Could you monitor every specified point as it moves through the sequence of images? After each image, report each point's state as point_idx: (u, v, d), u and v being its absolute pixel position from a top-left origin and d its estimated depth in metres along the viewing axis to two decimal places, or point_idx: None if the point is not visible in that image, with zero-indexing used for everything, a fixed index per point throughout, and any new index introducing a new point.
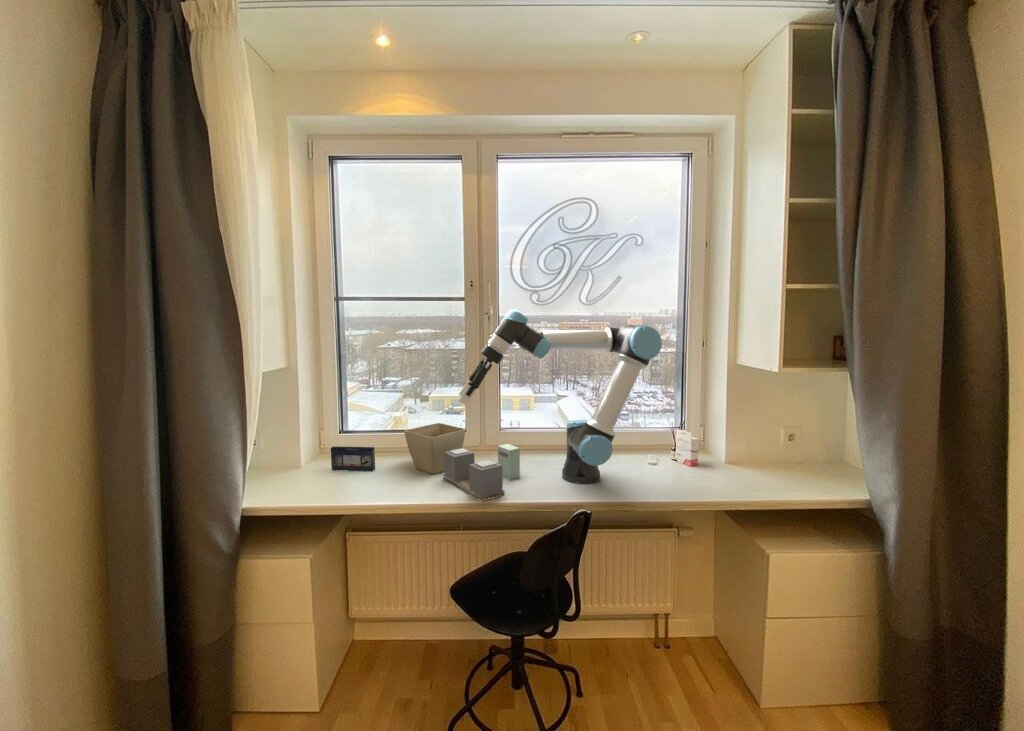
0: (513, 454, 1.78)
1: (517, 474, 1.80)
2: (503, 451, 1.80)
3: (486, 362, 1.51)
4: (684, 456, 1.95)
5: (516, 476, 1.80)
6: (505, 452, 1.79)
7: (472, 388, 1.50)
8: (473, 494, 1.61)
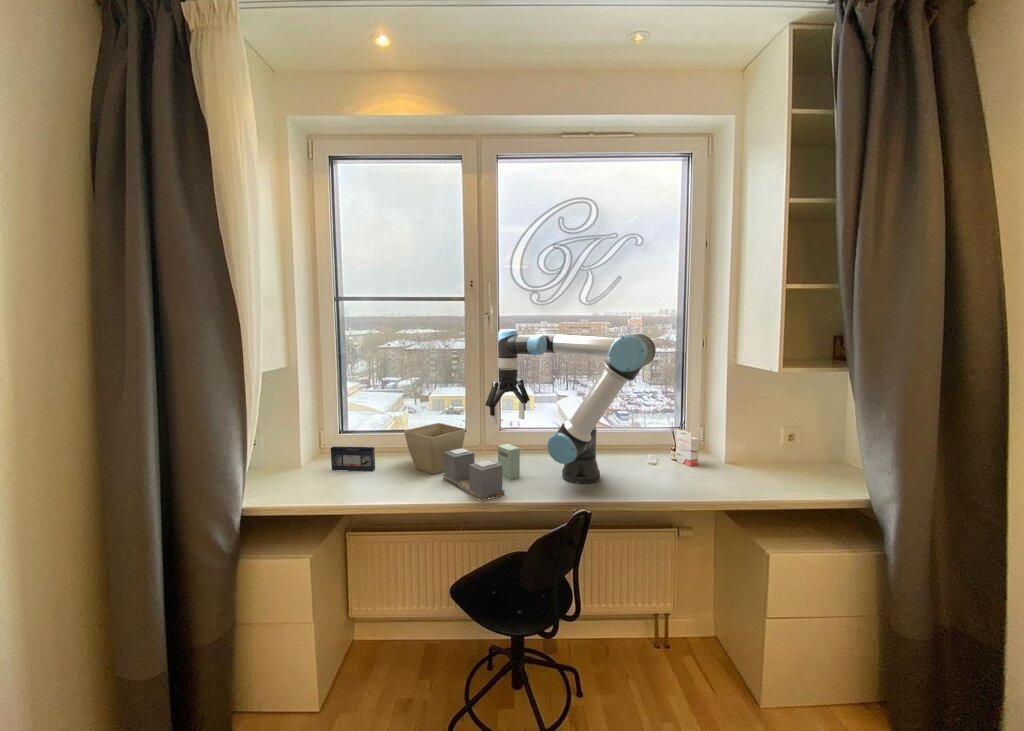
0: (513, 454, 1.78)
1: (517, 474, 1.80)
2: (503, 451, 1.80)
3: (493, 383, 1.75)
4: (684, 456, 1.95)
5: (516, 476, 1.80)
6: (505, 452, 1.79)
7: (491, 408, 1.75)
8: (473, 494, 1.61)
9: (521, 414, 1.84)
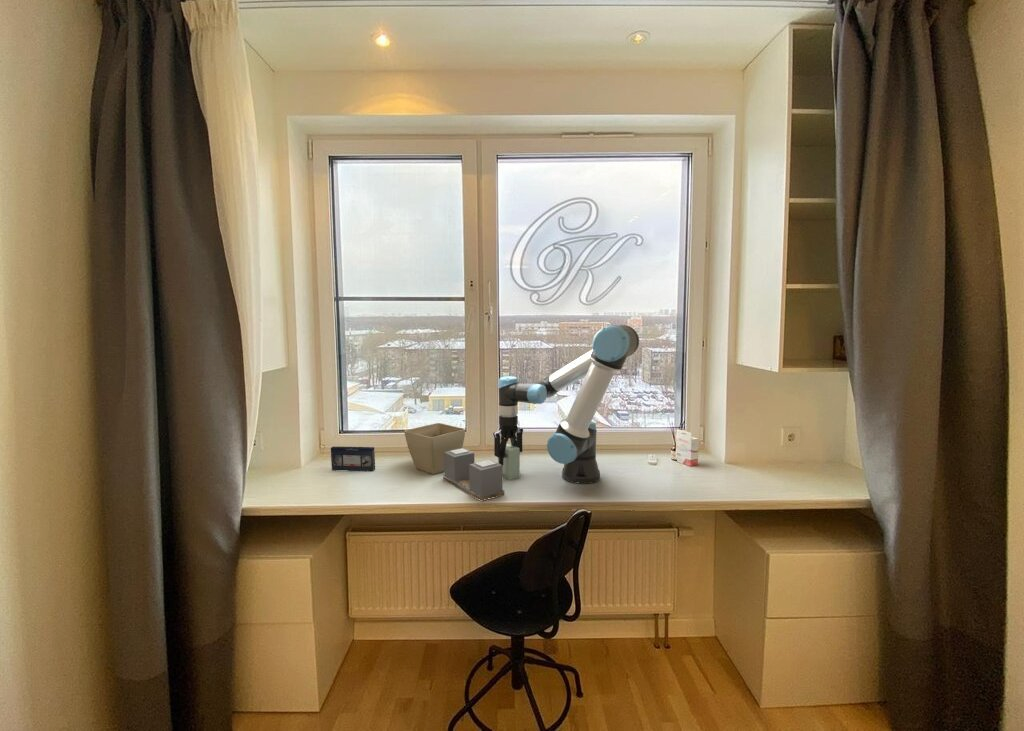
0: (513, 454, 1.78)
1: (517, 474, 1.80)
2: None
3: (493, 434, 1.78)
4: (684, 456, 1.95)
5: (516, 476, 1.80)
6: (505, 452, 1.79)
7: (499, 458, 1.80)
8: (473, 494, 1.61)
9: None
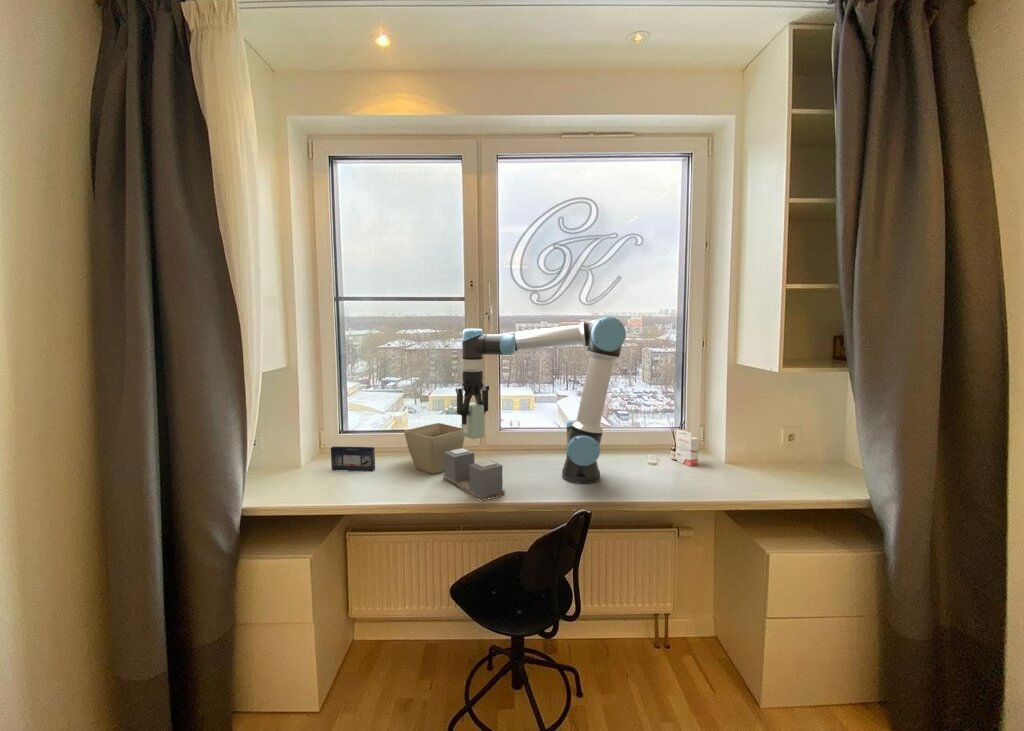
0: (477, 412, 1.66)
1: (481, 434, 1.68)
2: None
3: (456, 389, 1.65)
4: (684, 456, 1.95)
5: (480, 436, 1.68)
6: (468, 410, 1.67)
7: (462, 416, 1.67)
8: (473, 494, 1.61)
9: None
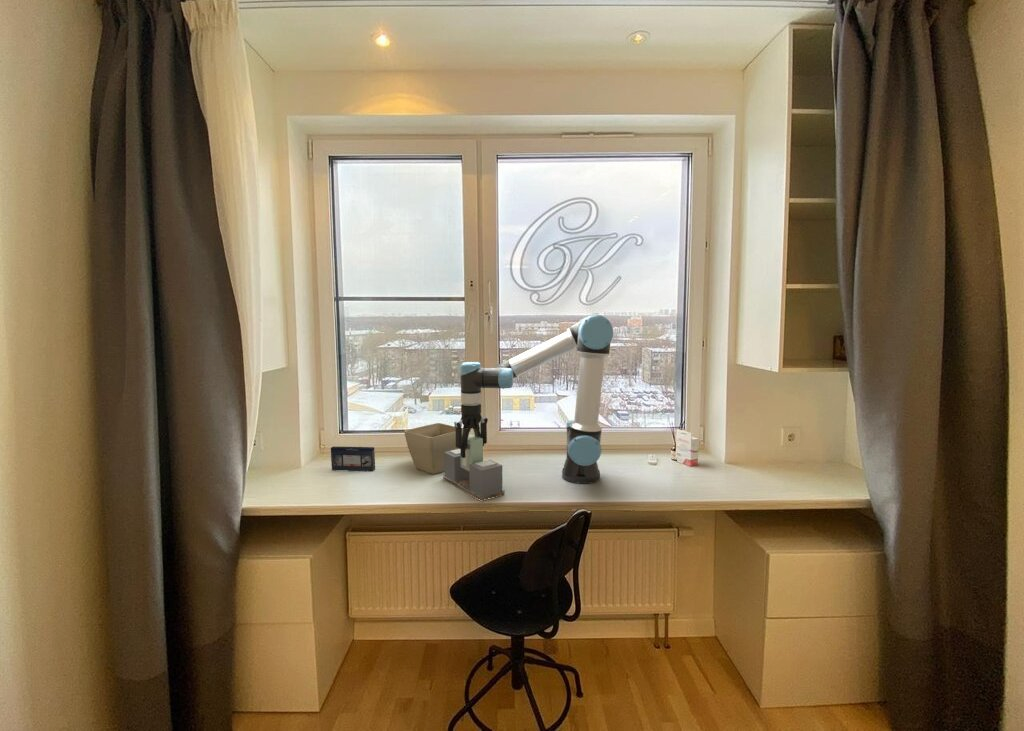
0: (475, 445, 1.66)
1: None
2: None
3: (454, 423, 1.66)
4: (684, 456, 1.95)
5: None
6: (467, 443, 1.67)
7: (461, 450, 1.67)
8: (473, 494, 1.61)
9: None
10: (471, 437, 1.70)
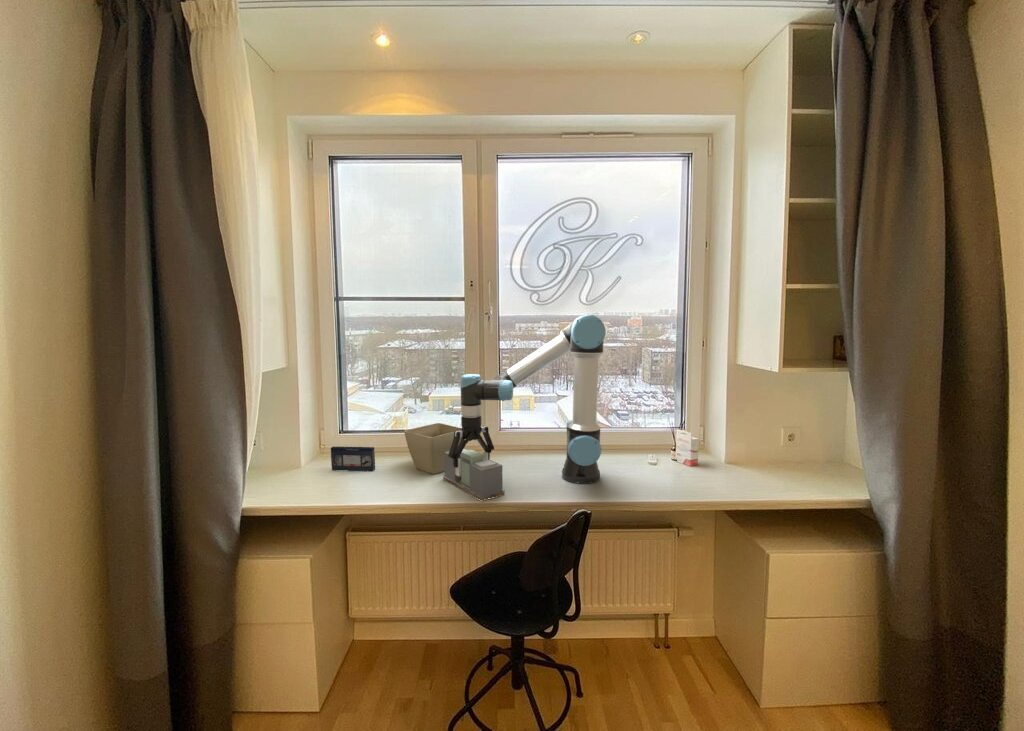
0: (476, 461, 1.67)
1: None
2: (466, 458, 1.69)
3: (454, 432, 1.66)
4: (684, 456, 1.95)
5: None
6: (468, 459, 1.68)
7: (454, 459, 1.66)
8: (473, 494, 1.61)
9: None
10: (472, 453, 1.70)
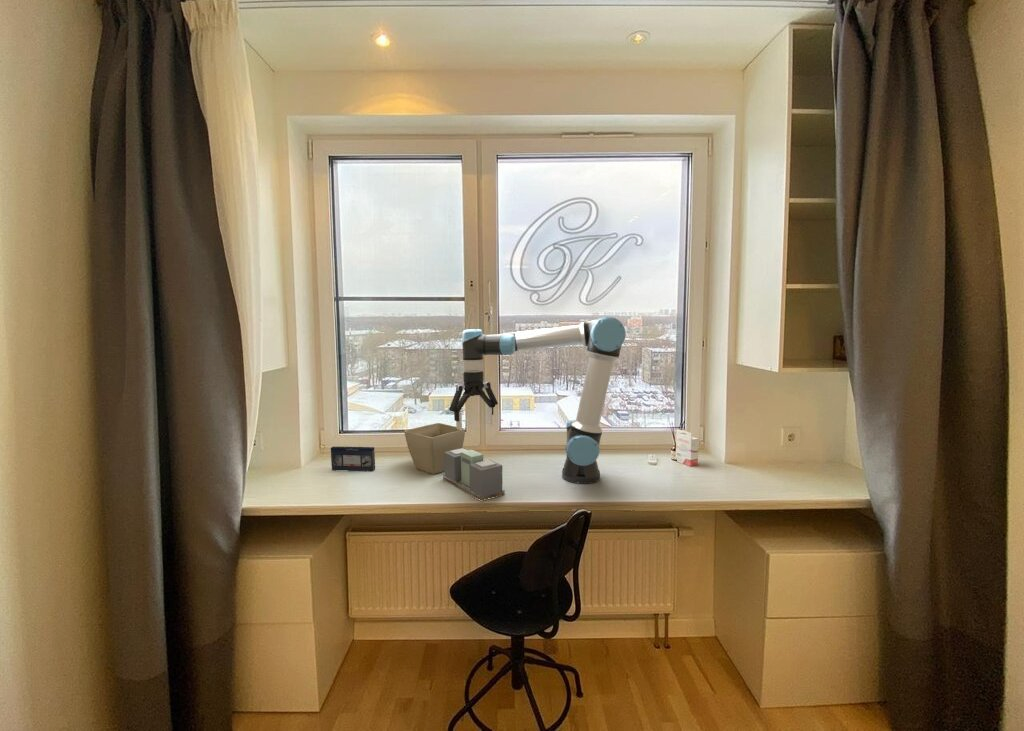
0: (476, 461, 1.67)
1: None
2: (466, 458, 1.69)
3: (457, 386, 1.65)
4: (684, 456, 1.95)
5: None
6: (468, 459, 1.68)
7: (455, 413, 1.65)
8: (473, 494, 1.61)
9: (489, 419, 1.74)
10: (472, 453, 1.70)
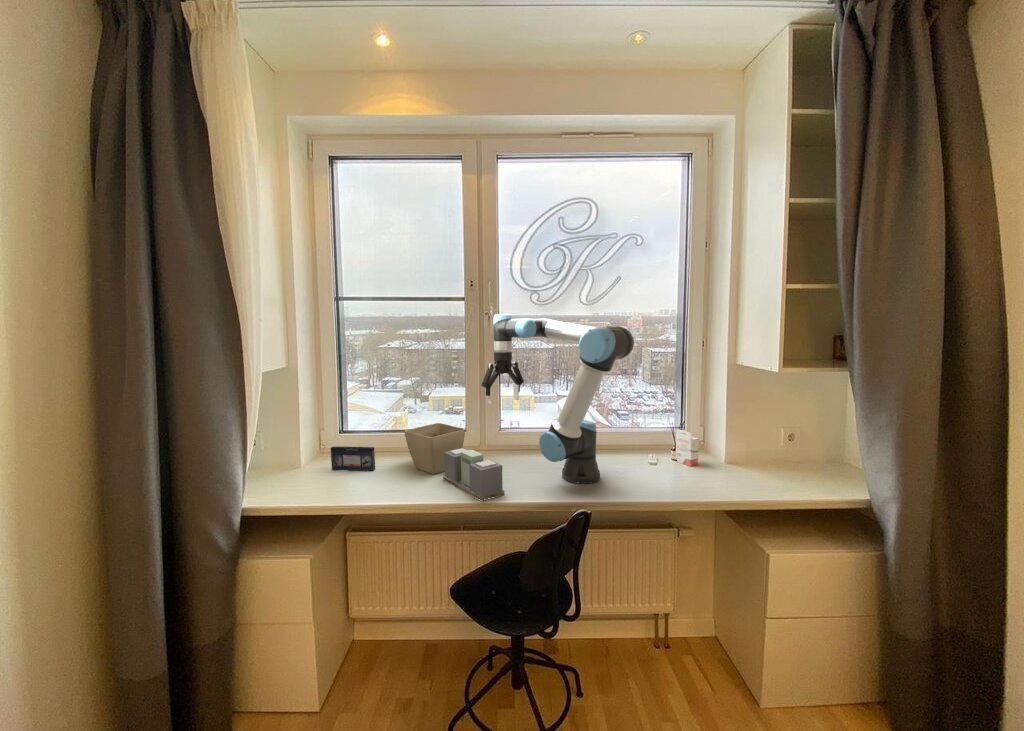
0: (476, 461, 1.67)
1: None
2: (466, 458, 1.69)
3: (488, 364, 1.84)
4: (684, 456, 1.95)
5: None
6: (468, 459, 1.68)
7: (486, 388, 1.84)
8: (473, 494, 1.61)
9: (516, 395, 1.93)
10: (472, 453, 1.70)
